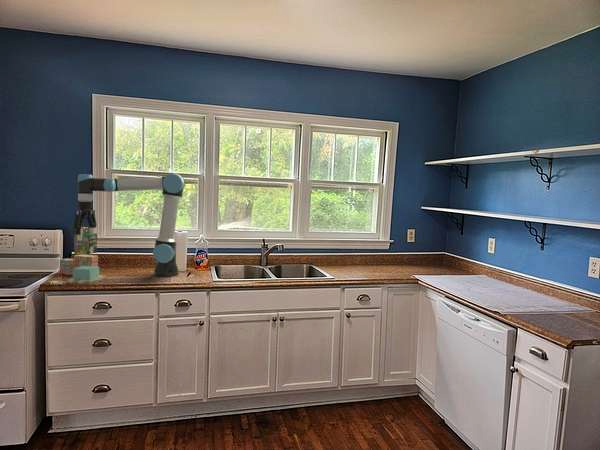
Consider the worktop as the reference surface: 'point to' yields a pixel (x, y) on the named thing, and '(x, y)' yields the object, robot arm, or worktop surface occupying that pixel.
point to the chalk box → (85, 243)
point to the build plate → (85, 280)
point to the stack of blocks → (77, 263)
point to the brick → (86, 272)
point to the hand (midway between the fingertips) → (85, 239)
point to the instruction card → (57, 282)
